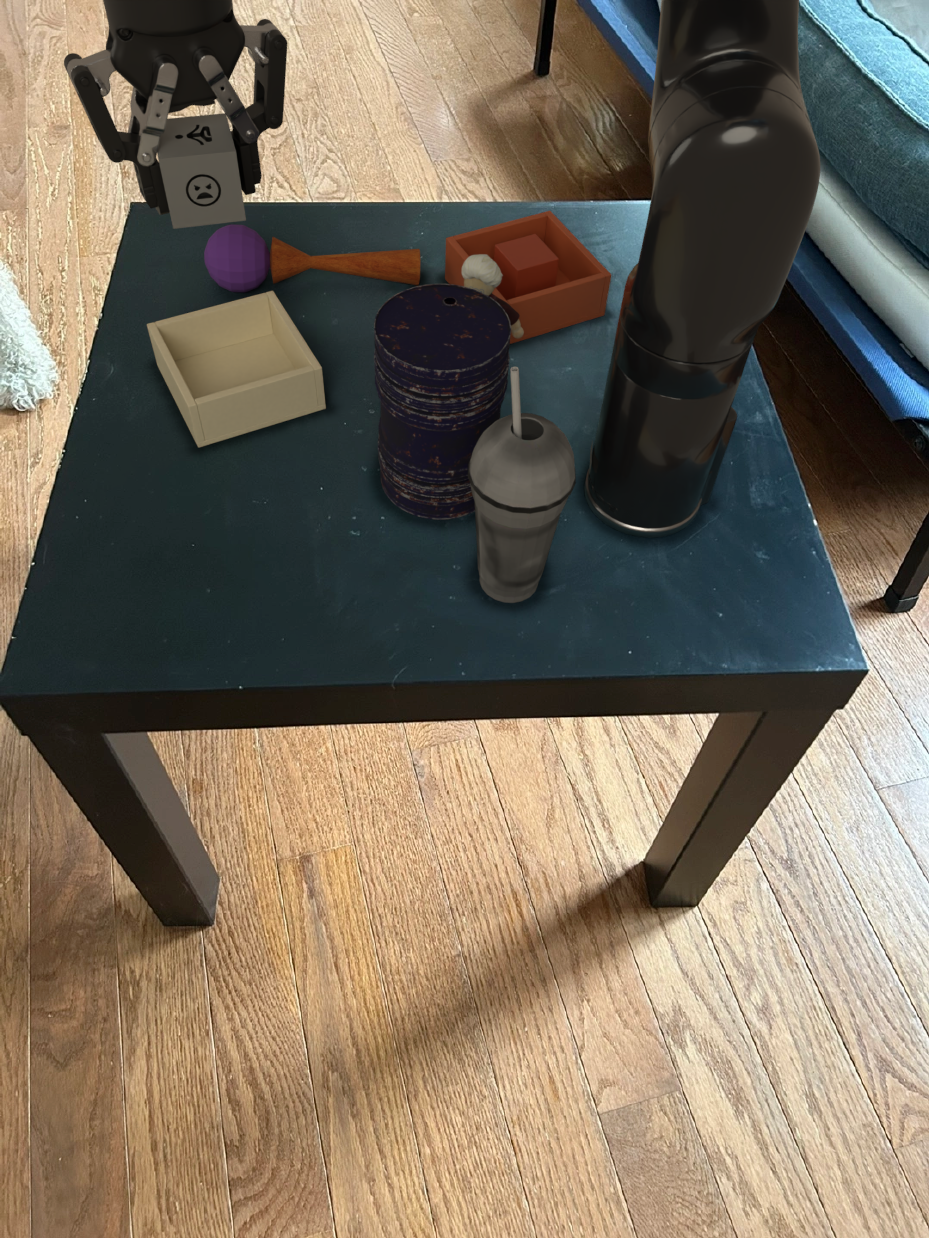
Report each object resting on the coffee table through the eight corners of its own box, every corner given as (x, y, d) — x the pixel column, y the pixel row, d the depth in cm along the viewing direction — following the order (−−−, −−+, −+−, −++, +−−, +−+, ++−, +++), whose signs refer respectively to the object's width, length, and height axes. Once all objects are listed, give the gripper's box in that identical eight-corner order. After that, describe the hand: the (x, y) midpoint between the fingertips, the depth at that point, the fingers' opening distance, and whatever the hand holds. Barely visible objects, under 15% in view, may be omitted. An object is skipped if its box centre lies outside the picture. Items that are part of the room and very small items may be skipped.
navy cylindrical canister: (488, 529, 79) (501, 382, 67) (366, 511, 79) (357, 361, 67) (506, 442, 84) (521, 292, 72) (393, 425, 85) (389, 274, 73)
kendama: (423, 267, 92) (200, 257, 89) (417, 313, 97) (206, 304, 94) (419, 220, 94) (203, 208, 91) (414, 267, 100) (209, 257, 97)
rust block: (531, 273, 98) (535, 233, 94) (553, 299, 96) (559, 258, 92) (491, 285, 97) (494, 244, 93) (513, 311, 94) (517, 270, 91)
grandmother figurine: (431, 396, 88) (433, 270, 77) (431, 367, 90) (433, 241, 80) (518, 397, 88) (532, 273, 78) (516, 368, 90) (529, 243, 80)
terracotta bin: (545, 251, 101) (550, 210, 97) (604, 315, 95) (612, 274, 92) (444, 278, 98) (445, 237, 94) (499, 347, 92) (503, 306, 88)
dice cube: (246, 220, 70) (235, 151, 66) (173, 229, 69) (158, 159, 65) (236, 182, 72) (225, 113, 68) (166, 189, 72) (151, 120, 67)
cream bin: (278, 332, 92) (272, 290, 88) (326, 408, 86) (322, 367, 82) (157, 365, 89) (146, 323, 85) (198, 448, 83) (188, 406, 79)
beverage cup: (548, 626, 73) (586, 423, 57) (452, 607, 74) (462, 402, 58) (563, 552, 78) (601, 343, 61) (471, 535, 78) (486, 324, 62)
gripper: (42, -32, 53) (119, 252, 66) (297, -71, 57) (320, 203, 71) (9, -84, 56) (88, 194, 70) (250, -118, 61) (281, 151, 74)
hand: (204, 197), depth 70 cm, fingers closed on dice cube, 5 cm apart
